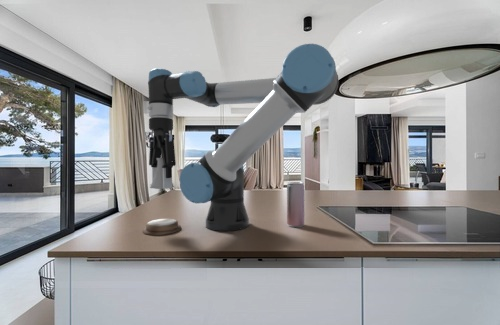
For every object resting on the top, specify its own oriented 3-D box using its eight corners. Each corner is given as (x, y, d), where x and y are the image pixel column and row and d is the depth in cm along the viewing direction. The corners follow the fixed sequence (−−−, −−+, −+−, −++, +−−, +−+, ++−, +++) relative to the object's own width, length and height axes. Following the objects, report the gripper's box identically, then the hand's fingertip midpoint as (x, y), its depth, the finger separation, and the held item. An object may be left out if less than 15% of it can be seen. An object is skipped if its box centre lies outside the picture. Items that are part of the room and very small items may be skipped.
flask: (166, 189, 80) (165, 157, 80) (145, 189, 82) (145, 158, 81) (177, 187, 87) (177, 157, 87) (158, 186, 89) (158, 158, 88)
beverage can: (287, 223, 92) (286, 181, 92) (303, 223, 92) (303, 182, 92) (287, 227, 87) (286, 183, 86) (305, 227, 86) (304, 183, 86)
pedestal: (185, 225, 90) (185, 217, 90) (174, 235, 78) (174, 226, 78) (152, 225, 91) (151, 217, 91) (135, 235, 79) (135, 226, 79)
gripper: (138, 120, 89) (138, 186, 89) (163, 112, 74) (164, 191, 74) (159, 122, 94) (159, 184, 94) (186, 115, 79) (187, 188, 79)
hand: (161, 187), depth 84 cm, fingers closed on flask, 7 cm apart
